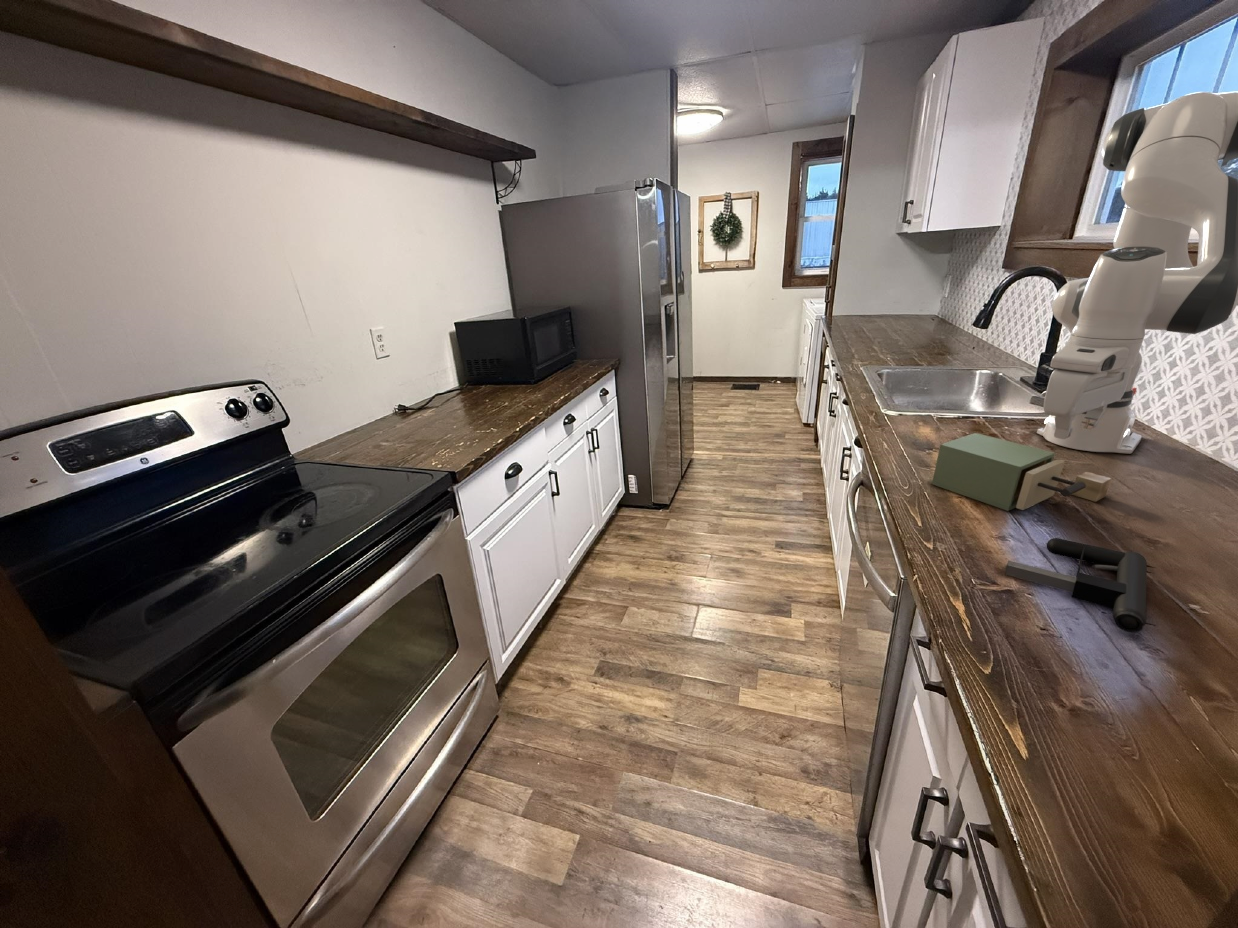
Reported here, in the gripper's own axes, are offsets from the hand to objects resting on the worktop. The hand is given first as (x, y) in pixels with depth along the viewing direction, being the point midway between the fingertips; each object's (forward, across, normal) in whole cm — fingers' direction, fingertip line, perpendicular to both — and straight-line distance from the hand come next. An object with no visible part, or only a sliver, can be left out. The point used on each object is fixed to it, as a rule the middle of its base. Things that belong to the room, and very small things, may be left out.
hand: (1074, 432), depth 87 cm
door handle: (+16, +22, +13) cm, 30 cm away
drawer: (+15, 0, -6) cm, 16 cm away
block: (+15, -13, +1) cm, 20 cm away
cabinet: (+16, 0, -11) cm, 19 cm away
